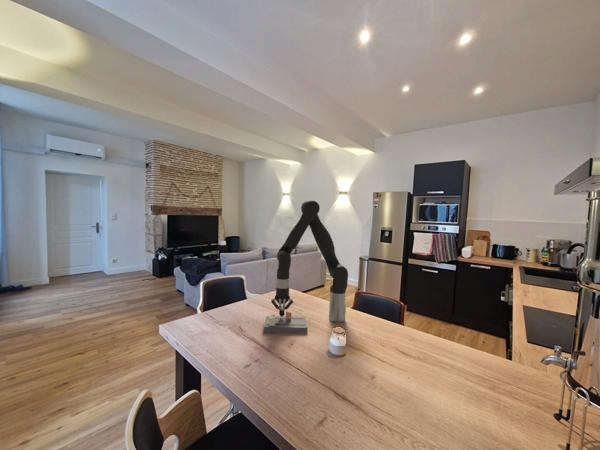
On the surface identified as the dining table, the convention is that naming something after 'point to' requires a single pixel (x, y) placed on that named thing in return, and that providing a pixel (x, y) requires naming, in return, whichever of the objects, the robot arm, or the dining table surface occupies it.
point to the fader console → (286, 325)
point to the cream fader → (272, 320)
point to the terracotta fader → (288, 314)
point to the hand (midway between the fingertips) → (281, 316)
